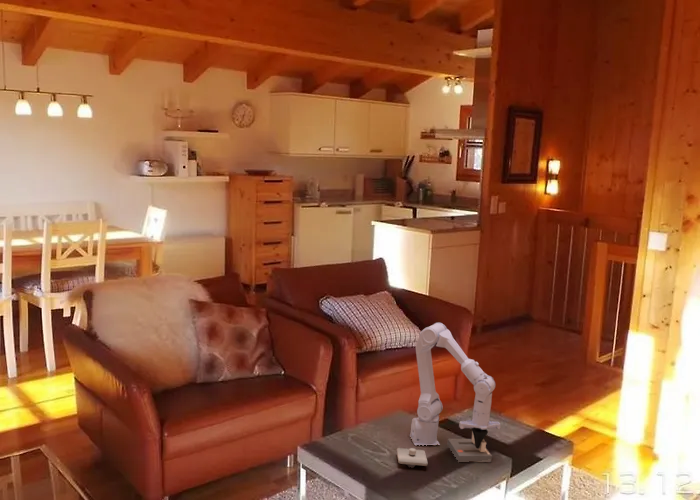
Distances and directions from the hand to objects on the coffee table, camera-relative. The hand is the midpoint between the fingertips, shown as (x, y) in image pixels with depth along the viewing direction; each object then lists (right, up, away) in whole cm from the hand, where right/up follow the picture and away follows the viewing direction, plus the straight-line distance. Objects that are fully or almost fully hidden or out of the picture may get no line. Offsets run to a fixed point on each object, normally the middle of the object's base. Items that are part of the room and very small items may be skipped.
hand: (477, 447), depth 230 cm
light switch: (-24, -4, -7) cm, 25 cm away
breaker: (0, 0, +6) cm, 6 cm away
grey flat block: (-2, -3, +3) cm, 5 cm away
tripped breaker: (+2, -1, +1) cm, 2 cm away
